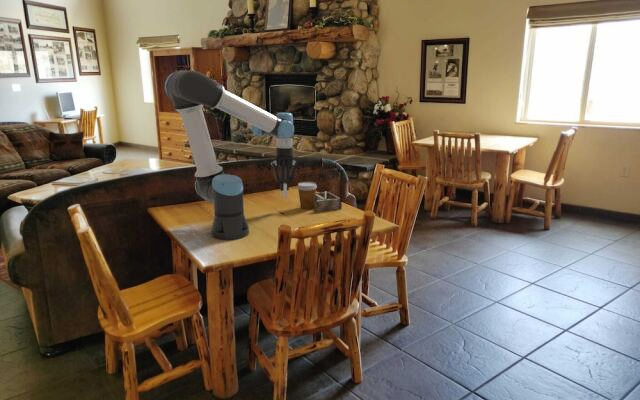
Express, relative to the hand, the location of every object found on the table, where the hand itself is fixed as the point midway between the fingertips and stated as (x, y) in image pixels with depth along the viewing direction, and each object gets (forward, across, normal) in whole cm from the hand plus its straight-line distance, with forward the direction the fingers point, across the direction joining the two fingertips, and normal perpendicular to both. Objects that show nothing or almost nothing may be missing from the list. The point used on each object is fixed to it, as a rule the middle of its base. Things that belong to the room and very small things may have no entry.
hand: (284, 197), depth 212 cm
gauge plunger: (+6, +20, 0) cm, 21 cm away
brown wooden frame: (+6, +21, 0) cm, 22 cm away
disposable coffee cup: (+7, +12, 0) cm, 14 cm away
